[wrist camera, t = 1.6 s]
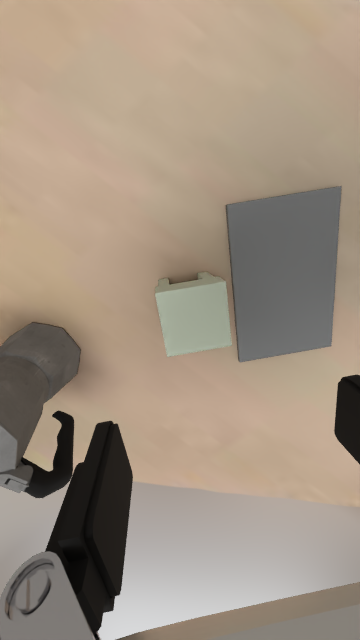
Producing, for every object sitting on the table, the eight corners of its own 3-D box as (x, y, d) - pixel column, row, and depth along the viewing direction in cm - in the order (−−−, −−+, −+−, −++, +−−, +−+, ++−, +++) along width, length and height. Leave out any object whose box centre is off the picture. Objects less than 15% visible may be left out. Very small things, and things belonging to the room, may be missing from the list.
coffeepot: (-21, 355, 31) (-246, 501, 14) (13, 297, 29) (-204, 383, 12) (87, 410, 35) (15, 577, 18) (123, 362, 32) (82, 499, 16)
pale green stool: (208, 269, 29) (225, 281, 21) (213, 318, 31) (231, 345, 23) (156, 278, 29) (154, 293, 21) (165, 326, 31) (167, 356, 23)
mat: (337, 187, 27) (341, 186, 27) (328, 344, 34) (331, 346, 33) (225, 205, 27) (227, 204, 26) (238, 360, 34) (239, 362, 33)
